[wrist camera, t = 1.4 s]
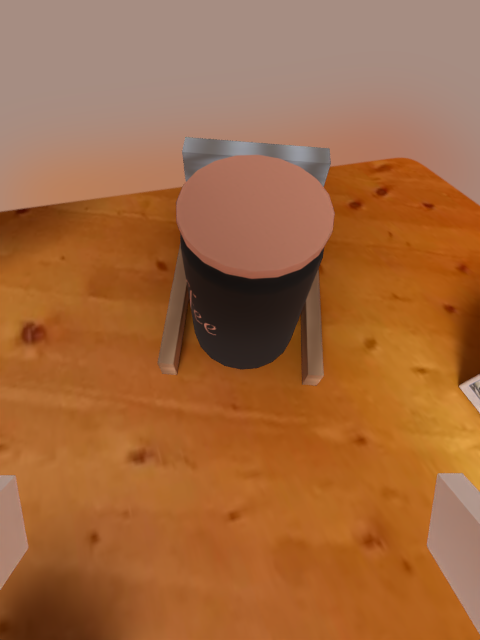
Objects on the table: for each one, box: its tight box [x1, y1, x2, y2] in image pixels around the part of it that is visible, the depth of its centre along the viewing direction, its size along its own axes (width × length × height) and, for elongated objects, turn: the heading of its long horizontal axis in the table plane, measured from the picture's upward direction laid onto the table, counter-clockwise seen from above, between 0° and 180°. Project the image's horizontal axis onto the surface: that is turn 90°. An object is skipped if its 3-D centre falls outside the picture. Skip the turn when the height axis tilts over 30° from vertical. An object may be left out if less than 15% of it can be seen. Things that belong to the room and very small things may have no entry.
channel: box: [158, 137, 331, 385], centre depth 38 cm, size 16×24×10 cm, turn 176°
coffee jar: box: [176, 155, 335, 369], centre depth 31 cm, size 11×11×18 cm
